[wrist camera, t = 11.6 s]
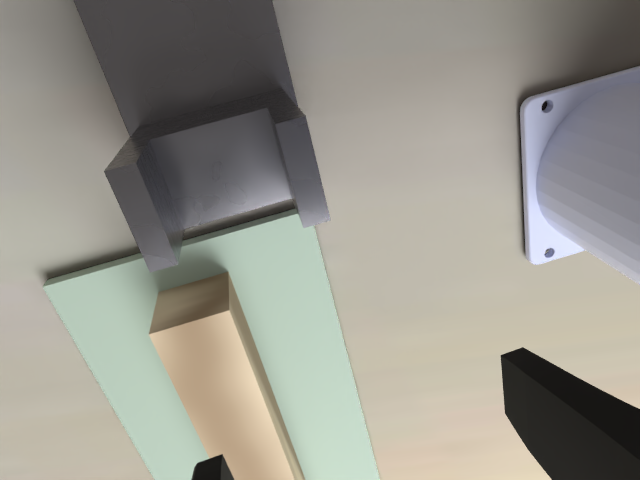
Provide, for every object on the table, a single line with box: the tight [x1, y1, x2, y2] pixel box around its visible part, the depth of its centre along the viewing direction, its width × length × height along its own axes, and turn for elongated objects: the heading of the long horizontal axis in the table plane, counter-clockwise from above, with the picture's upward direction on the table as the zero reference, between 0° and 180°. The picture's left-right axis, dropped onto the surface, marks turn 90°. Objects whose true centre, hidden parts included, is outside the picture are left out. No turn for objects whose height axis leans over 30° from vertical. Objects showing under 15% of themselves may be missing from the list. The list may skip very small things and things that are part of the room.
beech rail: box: [149, 272, 305, 480], centre depth 22 cm, size 3×16×3 cm, turn 13°
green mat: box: [43, 209, 380, 480], centre depth 24 cm, size 11×20×1 cm, turn 13°
